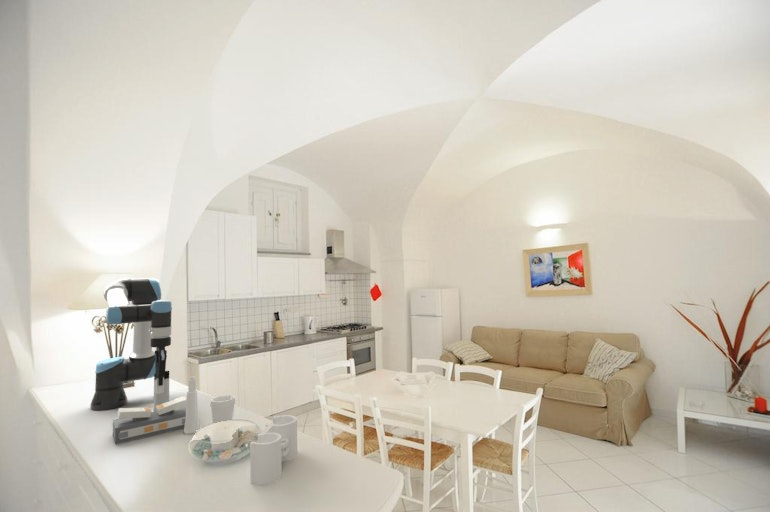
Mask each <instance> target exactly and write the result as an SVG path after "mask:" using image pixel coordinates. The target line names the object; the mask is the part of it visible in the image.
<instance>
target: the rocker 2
mask: <svg viewBox="0 0 770 512" xmlns="http://www.w3.org/2000/svg"><path fill="white" fill-rule="evenodd" d="M186 404H187V397H186V396H184V395H183V396H180V397H177V398H175V399H171V400H169V402H166V403H163V404H160V405H157V406H156V410H157V413H158V414H159V415H161V414H164V413H166V412H169V411H172V410H174V409H177V408H180V407H183V406H185V405H186Z"/></svg>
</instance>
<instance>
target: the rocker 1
mask: <svg viewBox="0 0 770 512" xmlns="http://www.w3.org/2000/svg"><path fill="white" fill-rule="evenodd" d="M151 412H153V411H152V409H151V408H150V407H148V406H147V407H144V406H143V407H120V408H119V407H118V410H117V413H116V415H117V419H120V418H141V417H151Z"/></svg>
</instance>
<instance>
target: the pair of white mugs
mask: <svg viewBox="0 0 770 512" xmlns="http://www.w3.org/2000/svg"><path fill="white" fill-rule="evenodd" d="M249 444H250V447H249V448H250V449H249V450H250V455H249V457H250V460H249V461H250V467H249V470H250V472H249V473H250V485H256V486H268V485H273V484H275V483H276V482H278V481H280V479H281V478H282V471H283V470H282V469H283V467H282V464H283V463H282V462H287V461H290V460H293V459H294V458H295V457H297V455H298V418H297V416H295V415H291V414H290V415H289V414H282V415H274V416H272V423H270V422H269V423H266V424H265V429H264V430H262V432H261V433H258V434H257V441H250V443H249Z"/></svg>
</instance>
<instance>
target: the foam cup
mask: <svg viewBox="0 0 770 512" xmlns="http://www.w3.org/2000/svg"><path fill="white" fill-rule="evenodd" d="M235 403H236V395H232V394H224V395H223V394H222V395H218V396H215V397H212V398H211V399H210V403H209V404H210V409H211V416H212V424H213V423H217V422H221V421H227V420H232V421H233V416H234V412H235V411H234V409H235Z"/></svg>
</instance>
